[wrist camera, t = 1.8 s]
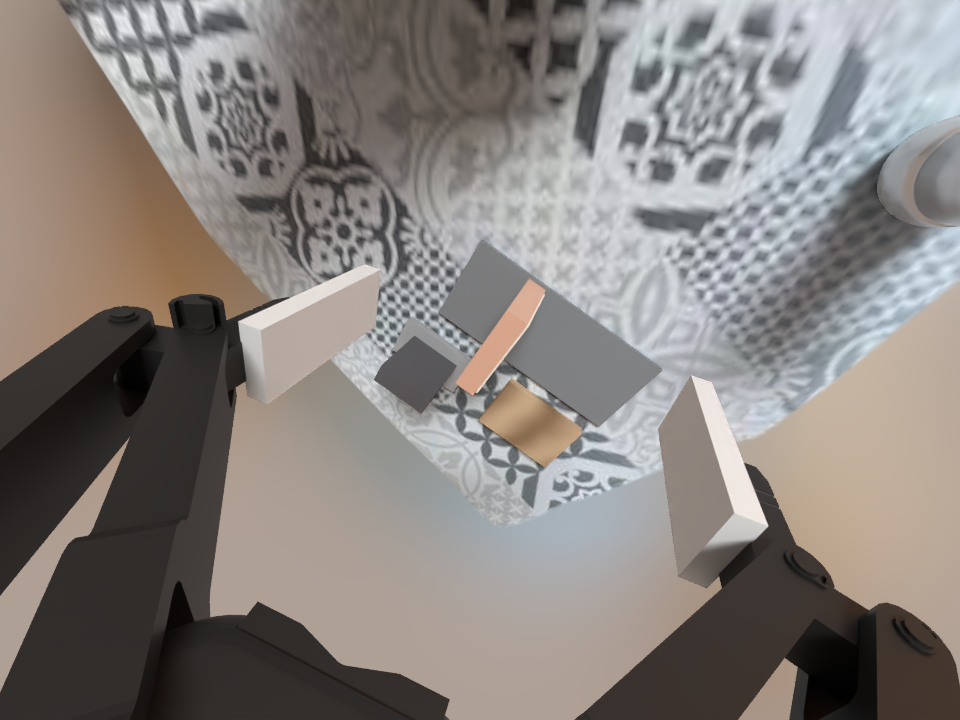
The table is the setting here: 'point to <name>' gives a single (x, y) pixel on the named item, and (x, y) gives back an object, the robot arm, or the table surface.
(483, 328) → the mat
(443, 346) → the grout float
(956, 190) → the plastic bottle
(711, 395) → the robot arm
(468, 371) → the tile
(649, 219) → the table surface
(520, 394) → the board
